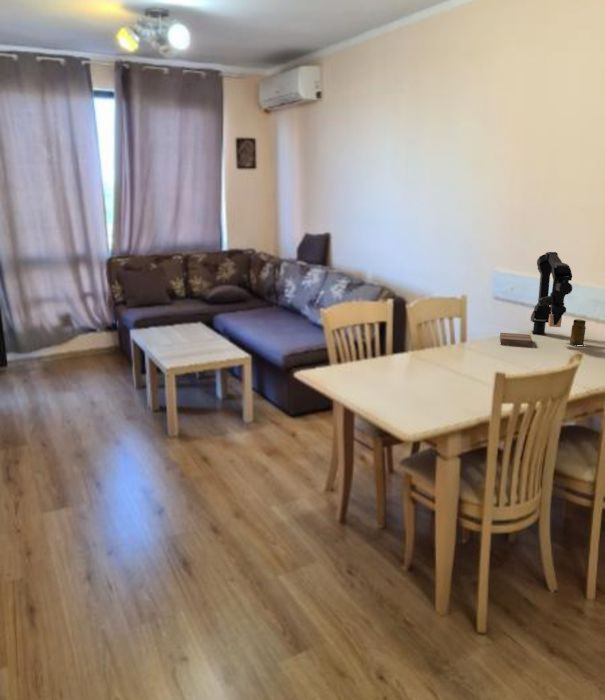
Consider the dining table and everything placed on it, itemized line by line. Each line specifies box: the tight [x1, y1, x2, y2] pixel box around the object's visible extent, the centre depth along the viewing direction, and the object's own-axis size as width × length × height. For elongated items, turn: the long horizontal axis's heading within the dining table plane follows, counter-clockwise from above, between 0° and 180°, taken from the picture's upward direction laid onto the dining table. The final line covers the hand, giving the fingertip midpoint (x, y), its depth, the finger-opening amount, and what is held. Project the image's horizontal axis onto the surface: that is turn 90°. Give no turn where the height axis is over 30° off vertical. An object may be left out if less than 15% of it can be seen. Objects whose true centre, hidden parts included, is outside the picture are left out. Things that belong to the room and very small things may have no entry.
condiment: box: [569, 318, 587, 348], centre depth 290 cm, size 7×8×12 cm
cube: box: [547, 313, 563, 328], centre depth 288 cm, size 5×5×5 cm
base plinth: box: [499, 332, 533, 348], centre depth 294 cm, size 14×14×3 cm
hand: (554, 323), depth 289 cm, fingers closed on cube, 5 cm apart
